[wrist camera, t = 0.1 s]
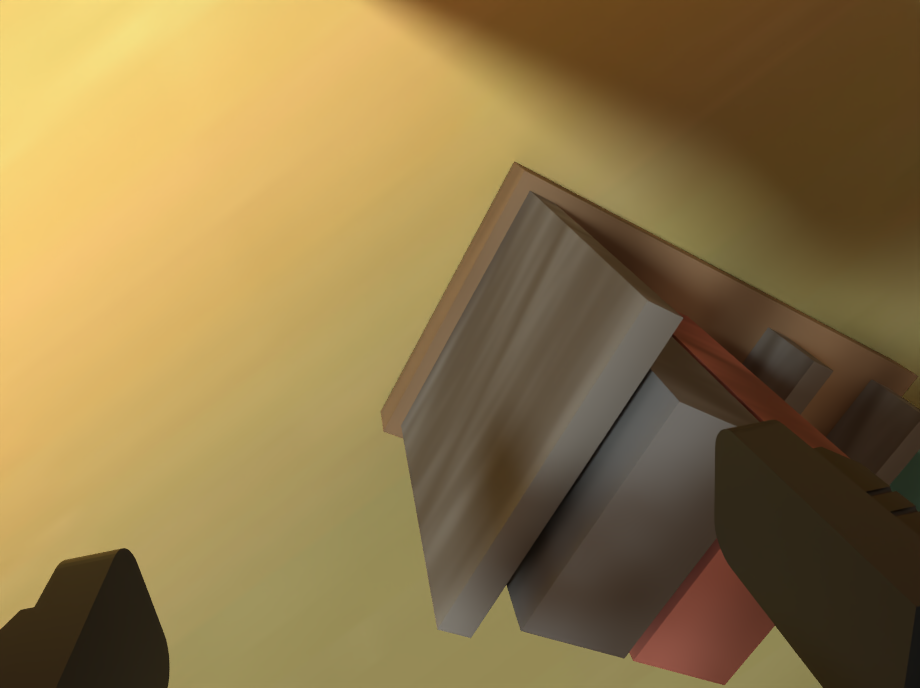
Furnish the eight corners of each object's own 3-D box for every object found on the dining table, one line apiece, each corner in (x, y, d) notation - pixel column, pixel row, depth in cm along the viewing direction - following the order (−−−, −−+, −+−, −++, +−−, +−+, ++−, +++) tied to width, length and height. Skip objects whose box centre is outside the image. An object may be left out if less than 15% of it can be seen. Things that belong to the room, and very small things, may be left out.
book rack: (380, 411, 29) (416, 670, 18) (514, 161, 25) (661, 288, 14) (748, 543, 35) (941, 792, 24) (893, 360, 32) (1194, 552, 21)
